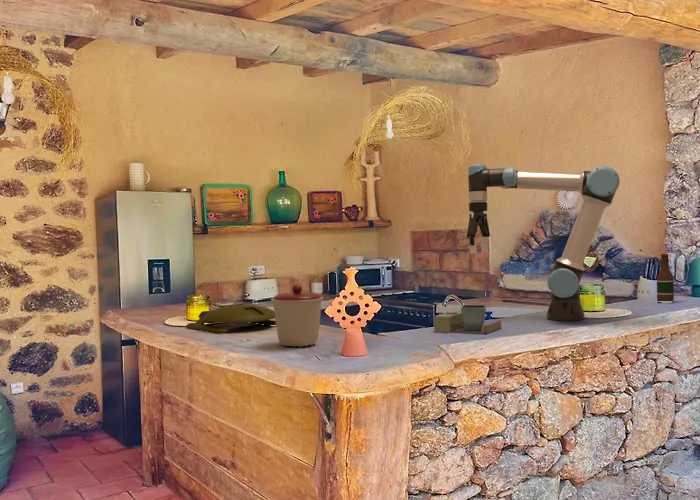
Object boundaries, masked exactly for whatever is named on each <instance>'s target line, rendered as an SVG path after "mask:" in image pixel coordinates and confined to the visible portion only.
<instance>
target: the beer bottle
mask: <svg viewBox="0 0 700 500" xmlns="http://www.w3.org/2000/svg"><path fill="white" fill-rule="evenodd" d="M660 257H661V258H660V271H659V272H658V273H657V277H656V301H673V300H674V297H675V296H674V287H675V286H674V283H675V282H674V275H673V272H671V270H670V264H669V263H670V262H669V260H670V259H669V257H670V255H669V254H668V253H661V254H660Z"/></svg>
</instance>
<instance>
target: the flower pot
mask: <svg viewBox="0 0 700 500" xmlns="http://www.w3.org/2000/svg"><path fill="white" fill-rule="evenodd" d="M460 311H461V312H462V320H463V323H464V326H465V328H466V329H467V330H478V331H479V330H481V328H482V326H484V325H485V324H484V323H485V321H486V314H487V313H486V312H487V305H486V304H462V305H461V307H460Z"/></svg>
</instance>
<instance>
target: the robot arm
mask: <svg viewBox="0 0 700 500" xmlns="http://www.w3.org/2000/svg"><path fill="white" fill-rule="evenodd" d="M467 179H468V194H467V197H468V201H469V203H468V211H469V212H471V213H469V221H468V226H467V232H466V238H467V239H469V254H470V255H471V254H473V255H474V254H477V253H478V252H477V251H478V250H477V247H478V246H477V237H476V235H477V232H478V229H479V230H480V234H481V237H480V238H481V240H480V241H481V245H480V246H481V253H489V237H491V232H490V228H489V221H488V214H487V213H484V212H487V211H488V202H487V201H488V188H495V187H497V188H499V187H500V188H502V189H504V190H505V189H507V190H508V189H519V190H521V189H522V190H523V189H524V190H537V191H538V190H541V191H561V192H562V191H563V192H564V191H565V192H578V193H580V194H581V197H582V200H583V201H582V203H581V206H580V209H579V211H578V214H577V216H576V219H575V221H574V224H573V226H572V229H571V232H570V234H569V237H568V239H567V242H566V245H565V248H564V250H563V252H562V255H561V257H559V258H557V259H556V260H555V262H554V263H552V264H551V265H550V269H549V273H550V274H549V275H548V279H547V286H548V287H547V288H548V289H549V291H550V302H549V305H548V309H547V311H546V319H548V320H551V321H552V320H553V321H560V322H561V321H563V322H565V321H569V322H570V321H571V322H572V321H574V322H575V321H582V319H583V320H584V319H585V312H584V308H583V306H582V302H581V299H580V298H581V296H580V295H581V293H580V290H581V289H580V286H581V285H580V283H581V281H582V278H583V275H584V273H585V271H586V269H585V267H584V262H585V260H586V258H587V254H588V251H589V249H590V247H591V245H592V242H593V240H594V237H595V235H596V232H597V229H598V227H599V224H600V222H601V220H602V216H603V214H604V213H605V209H606V208H607V207H609V206H611V205H612V203H613V200H614V197H615V194H616V193H617V190H618V188H619V186H620V182H621V181H620V176H619V173H618V172H617V171H616V170H615V169H614V168H612V167H610V166H605V165H602V166H596V167H595V168H593V169H592V170H583V171H581V172H557V171H556V172H553V171H529V170H527V171H526V170H525V171H524V170H517V169H516V168H514V167H501V168H500V167H499V168H488V167H487V165H486V164H483V163H482V164H478V163H477V164H471V165H469V166H468V175H467Z"/></svg>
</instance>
